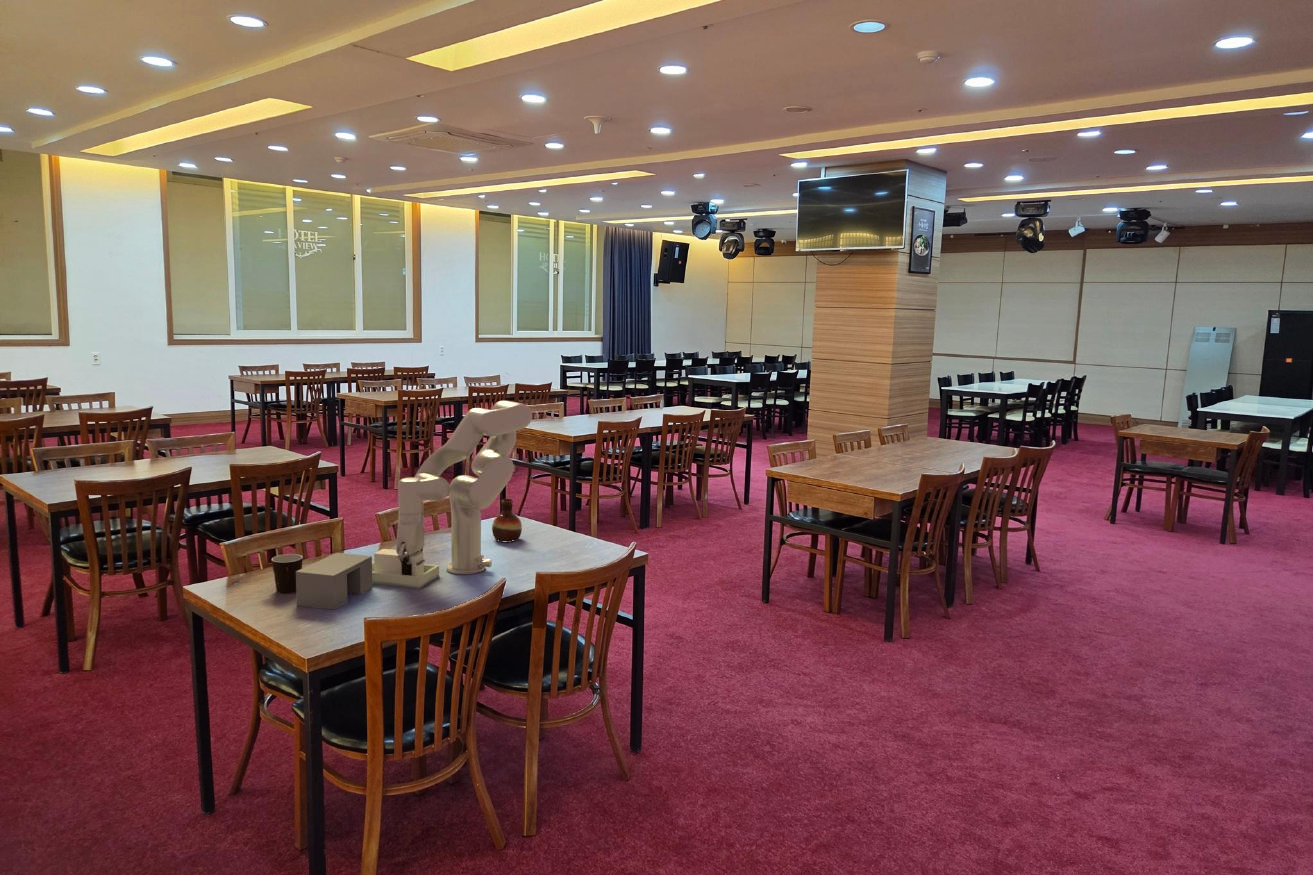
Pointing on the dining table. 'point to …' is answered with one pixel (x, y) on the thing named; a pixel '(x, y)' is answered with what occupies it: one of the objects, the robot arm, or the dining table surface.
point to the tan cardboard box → (397, 562)
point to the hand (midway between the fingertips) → (411, 572)
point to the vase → (507, 523)
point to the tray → (406, 577)
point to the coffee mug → (286, 572)
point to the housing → (333, 580)
